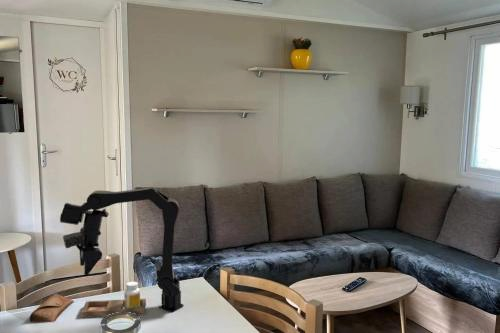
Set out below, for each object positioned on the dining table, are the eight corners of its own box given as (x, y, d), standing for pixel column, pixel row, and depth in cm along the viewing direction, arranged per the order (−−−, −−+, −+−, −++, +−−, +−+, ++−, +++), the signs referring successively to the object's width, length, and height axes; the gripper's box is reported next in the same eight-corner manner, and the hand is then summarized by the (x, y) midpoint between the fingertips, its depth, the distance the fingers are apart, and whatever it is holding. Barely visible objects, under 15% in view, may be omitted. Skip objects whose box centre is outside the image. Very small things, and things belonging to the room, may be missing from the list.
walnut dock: (145, 303, 163) (145, 298, 162) (144, 314, 154) (144, 308, 154) (86, 306, 159) (86, 301, 159) (81, 317, 150) (81, 312, 150)
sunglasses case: (55, 322, 146) (44, 305, 146) (37, 332, 147) (26, 315, 146) (75, 300, 164) (66, 285, 164) (59, 309, 164) (50, 294, 164)
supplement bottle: (143, 307, 159) (142, 282, 158) (134, 313, 154) (134, 287, 153) (130, 305, 161) (130, 279, 160) (121, 311, 156) (121, 284, 155)
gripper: (63, 218, 156) (56, 260, 157) (70, 233, 140) (62, 280, 141) (96, 220, 162) (88, 261, 163) (106, 235, 146) (97, 280, 147)
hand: (83, 270), depth 153 cm, fingers open, 9 cm apart
